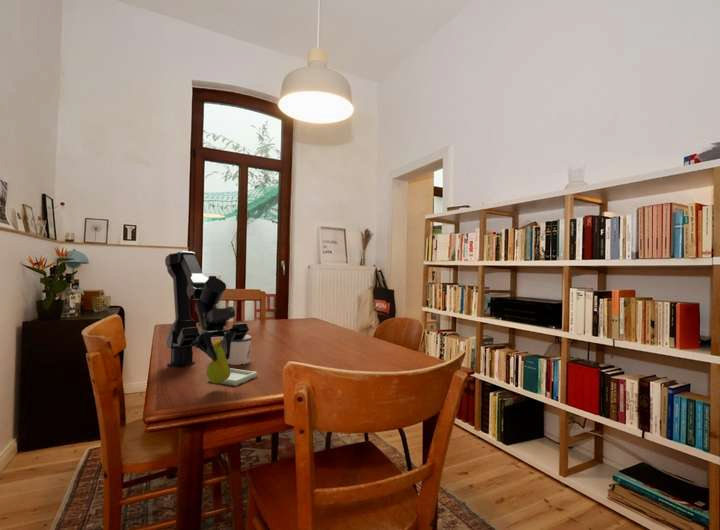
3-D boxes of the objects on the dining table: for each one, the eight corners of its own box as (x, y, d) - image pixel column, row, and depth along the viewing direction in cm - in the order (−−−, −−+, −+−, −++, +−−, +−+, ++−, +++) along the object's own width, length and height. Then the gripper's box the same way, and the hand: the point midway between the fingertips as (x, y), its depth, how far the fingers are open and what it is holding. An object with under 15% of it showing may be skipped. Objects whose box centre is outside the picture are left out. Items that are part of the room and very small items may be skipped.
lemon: (222, 363, 131) (223, 340, 131) (208, 361, 132) (209, 339, 132) (231, 359, 137) (231, 337, 137) (217, 358, 138) (218, 336, 138)
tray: (208, 381, 110) (208, 376, 110) (231, 372, 119) (231, 368, 119) (235, 385, 106) (235, 380, 106) (256, 376, 116) (257, 372, 116)
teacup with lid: (253, 364, 131) (254, 331, 131) (226, 366, 127) (227, 332, 127) (246, 356, 142) (247, 326, 142) (221, 358, 137) (222, 327, 138)
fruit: (207, 379, 105) (208, 337, 105) (230, 377, 107) (231, 336, 107) (205, 387, 99) (206, 342, 99) (230, 385, 101) (230, 341, 101)
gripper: (182, 298, 100) (194, 346, 92) (247, 296, 112) (263, 338, 104) (172, 323, 105) (183, 371, 97) (235, 318, 118) (249, 360, 110)
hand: (222, 359), depth 102 cm, fingers closed on fruit, 3 cm apart
